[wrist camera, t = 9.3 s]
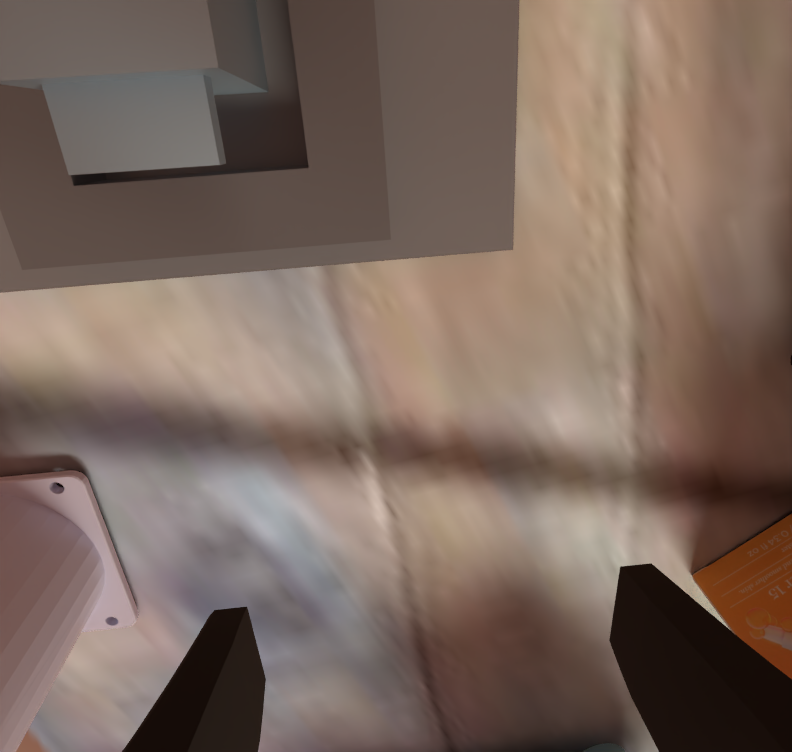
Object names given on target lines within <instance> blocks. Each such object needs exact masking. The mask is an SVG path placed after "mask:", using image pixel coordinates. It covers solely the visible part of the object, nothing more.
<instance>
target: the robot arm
mask: <svg viewBox="0 0 792 752" xmlns="http://www.w3.org/2000/svg"><path fill="white" fill-rule="evenodd" d="M55 482H57V483H60V484H62V485H63V487H59V486H58V485H57V484H56V483H55ZM138 616H139V612H138V609H137V607H136V604H135V601H134V599H133V596H132V594H131V591H130V588H129V586H128V583H127V580H126V578H125V575H124V573H123V570H122V567H121V565H120V562H119V559H118V557H117V554H116V551H115V549H114V546H113V544H112V541H111V538H110V536H109V533H108V530H107V528H106V525H105V522H104V520H103V517H102V515H101V512H100V509H99V507H98V504H97V501H96V499H95V496H94V494H93V491H92V488H91V486H90V483H89V480H88V479H87V477H86V476H85V475H84V474H83V473H81V472H78V471H73V470H69V471H59V472H48V473H38V474H27V475H17V476H7V477H0V752H16V750H17V749H18V747H19V745H20V743H21V741H22V739H23V738H24V736H25V734H26V732H27V730H28V728H29V727H30V725H31V723H32V721H33V719H34V717H35V716H36V714H37V712H38V710H39V708H40V707H41V705H42V703H43V701H44V699H45V697H46V696H47V694H48V692H49V690H50V688H51V686H52V685H53V683H54V681H55V679H56V677H57V675H58V674H59V672H60V670H61V668H62V666H63V664H64V663H65V661H66V659H67V657H68V655H69V654H70V652H71V650H72V648H73V646H74V644H75V643H76V641H77V639H78V637H79V635H80V633H81V632H88V631H98V630H107V629H116V628H125V627H130V626H133V625H134V624H135V622H136V620H137V618H138ZM114 617H115V618H114ZM609 641H610V643H611V646H612V649H613V651H614V654H615V657H616V659H617V662H618V665H619V667H620V670H621V672H622V675H623V677H624V680H625V682H626V685H627V687H628V690H629V692H630V695H631V697H632V699H633V701H634V703H635V705H636V707H637V709H638V711H639V713H640V715H641V717H642V719H643V721H644V723H645V725H646V727H647V729H648V731H649V733H650V735H651V736H652V738H653V740H654V742H655V744H656V746H657V748H658V750H659V752H792V679H791V678H789V677H788V676H787V675H786V674H784V673H783V672H782V671H780V670H779V669H778V668H777V667H775V666H774V665H773V664H771V663H770V662H769V661H768V660H766V659H765V658H764V657H763V656H761V655H760V654H759V653H758V652H756V651H755V650H754V649H753V648H751V647H750V646H749V645H748V644H747V643H745V642H744V641H743V640H742V639H740V638H739V637H738V636H737V635H735V634H734V633H733V632H732V631H731V630H729V629H728V628H727V627H726V626H724V625H723V624H722V623H721V622H720V621H719V620H717V619H716V618H715V617H714V616H713V615H711V614H710V613H709V612H708V611H707V610H705V609H704V608H703V607H702V606H701V605H700V604H698V603H697V602H696V601H695V600H694V599H692V598H691V597H690V596H689V595H688V594H687V593H685V592H684V591H683V590H682V589H681V588H680V587H678V586H677V585H676V584H675V583H674V582H672V581H671V580H670V579H669V578H668V577H667V576H665V575H664V574H663V573H662V572H661V571H659V570H658V569H657V568H656V567H655V566H654V565H652V564H642V565H633V566H624V567H620V573H619V579H618V586H617V593H616V600H615V606H614V613H613V620H612V627H611V634H610V640H609ZM265 681H266V678H265V675H264V671H263V667H262V663H261V659H260V655H259V651H258V647H257V644H256V640H255V636H254V632H253V628H252V624H251V620H250V616H249V613H248V609H247V607H240V608H231V609H222V610H214V612H213V613H212V614H211V615H210V616H209V618H208V619H207V621H206V623H205V624H204V626H203V628H202V629H201V631H200V633H199V634H198V636H197V638H196V639H195V641H194V643H193V644H192V646H191V648H190V649H189V651H188V653H187V654H186V656H185V657H184V659H183V661H182V662H181V664H180V666H179V667H178V669H177V670H176V672H175V673H174V675H173V677H172V678H171V680H170V681H169V683H168V685H167V686H166V688H165V689H164V691H163V692H162V694H161V695H160V697H159V698H158V700H157V701H156V703H155V704H154V706H153V707H152V709H151V710H150V712H149V713H148V715H147V716H146V718H145V719H144V721H143V722H142V724H141V725H140V727H139V728H138V730H137V731H136V733H135V734H134V736H133V737H132V738H131V740H130V741H129V743H128V744H127V746H126V747H125V748H124V750H123V751H122V752H258V747H259V742H260V734H261V724H262V715H263V704H264V692H265Z"/></svg>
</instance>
